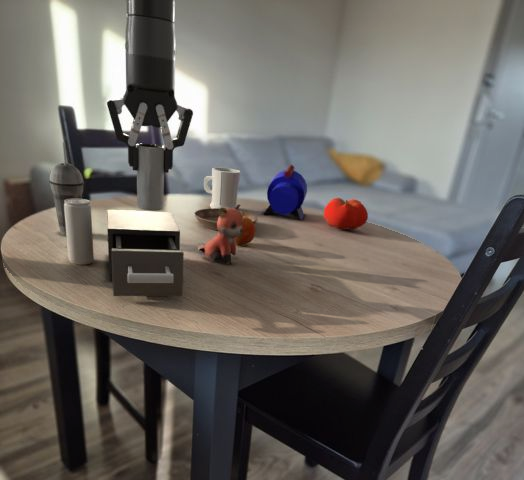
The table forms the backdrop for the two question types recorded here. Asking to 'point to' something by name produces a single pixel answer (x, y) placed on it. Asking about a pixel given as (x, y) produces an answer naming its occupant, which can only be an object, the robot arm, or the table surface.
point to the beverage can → (79, 231)
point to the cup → (223, 187)
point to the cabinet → (139, 227)
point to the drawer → (146, 266)
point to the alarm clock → (287, 193)
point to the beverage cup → (65, 187)
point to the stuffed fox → (224, 236)
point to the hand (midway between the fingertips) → (150, 170)
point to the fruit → (246, 232)
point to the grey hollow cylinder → (150, 176)
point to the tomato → (345, 214)
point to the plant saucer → (215, 217)
